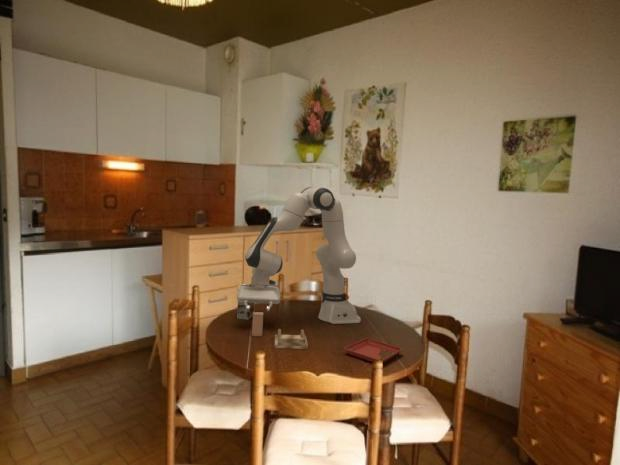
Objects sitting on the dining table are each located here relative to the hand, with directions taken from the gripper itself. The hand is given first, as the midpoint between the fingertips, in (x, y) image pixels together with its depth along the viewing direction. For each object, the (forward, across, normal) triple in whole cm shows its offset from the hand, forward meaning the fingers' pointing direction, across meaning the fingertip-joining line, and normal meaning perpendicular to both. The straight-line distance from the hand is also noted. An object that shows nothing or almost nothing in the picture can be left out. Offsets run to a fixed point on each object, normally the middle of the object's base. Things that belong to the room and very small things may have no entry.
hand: (257, 310), depth 190 cm
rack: (+16, +16, -2) cm, 23 cm away
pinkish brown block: (+10, 0, +4) cm, 11 cm away
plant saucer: (+24, +50, -10) cm, 56 cm away
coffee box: (-8, -7, +23) cm, 25 cm away
